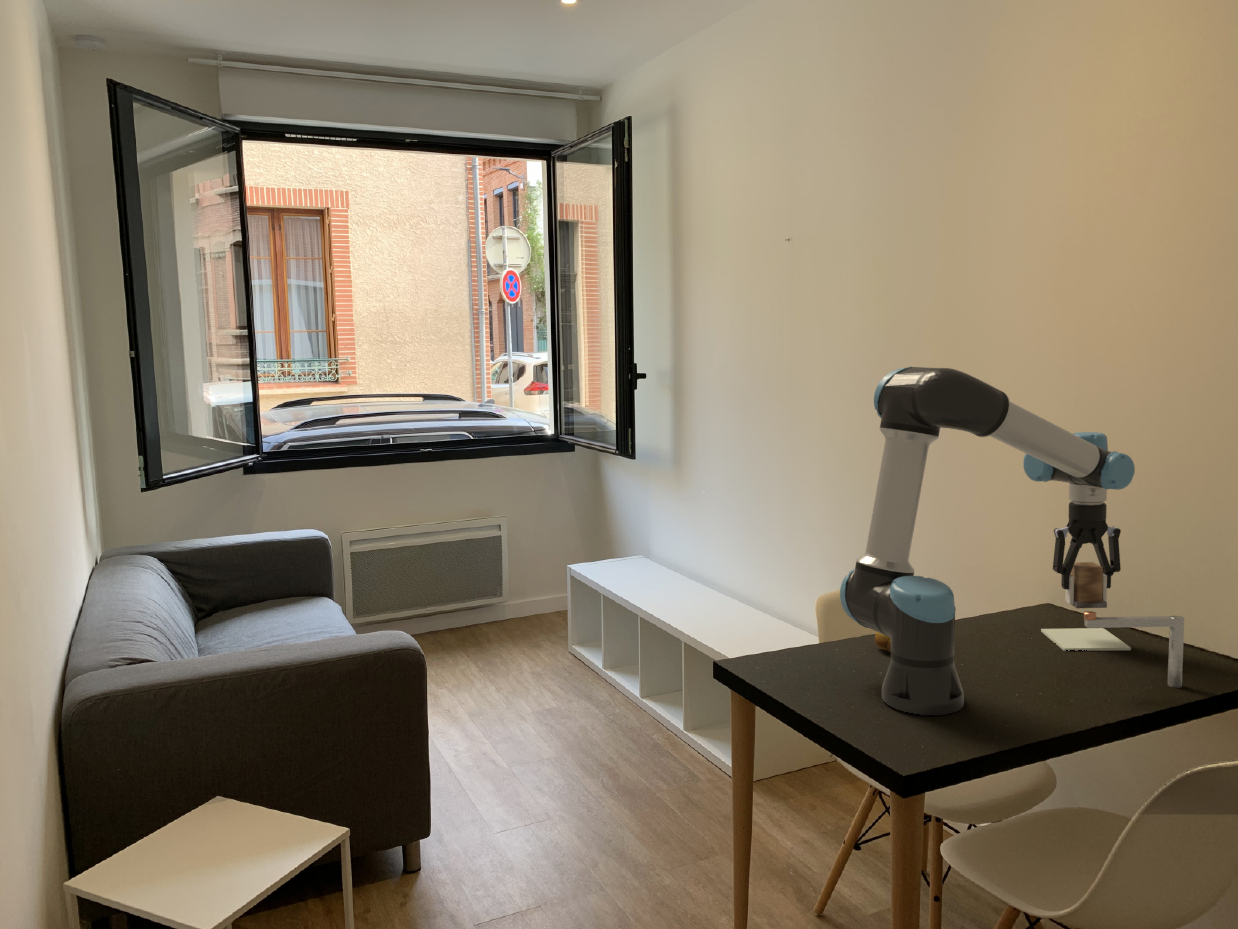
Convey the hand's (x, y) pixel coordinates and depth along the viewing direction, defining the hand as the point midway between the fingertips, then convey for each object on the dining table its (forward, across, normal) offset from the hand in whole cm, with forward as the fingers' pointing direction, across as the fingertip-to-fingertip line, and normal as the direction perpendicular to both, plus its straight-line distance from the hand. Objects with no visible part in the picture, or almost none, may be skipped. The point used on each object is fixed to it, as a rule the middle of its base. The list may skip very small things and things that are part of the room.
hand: (1085, 602), depth 209 cm
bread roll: (+9, -42, -6) cm, 43 cm away
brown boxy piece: (0, 0, 0) cm, 0 cm away
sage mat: (+9, 0, 0) cm, 9 cm away
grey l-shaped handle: (+9, -2, -28) cm, 30 cm away
